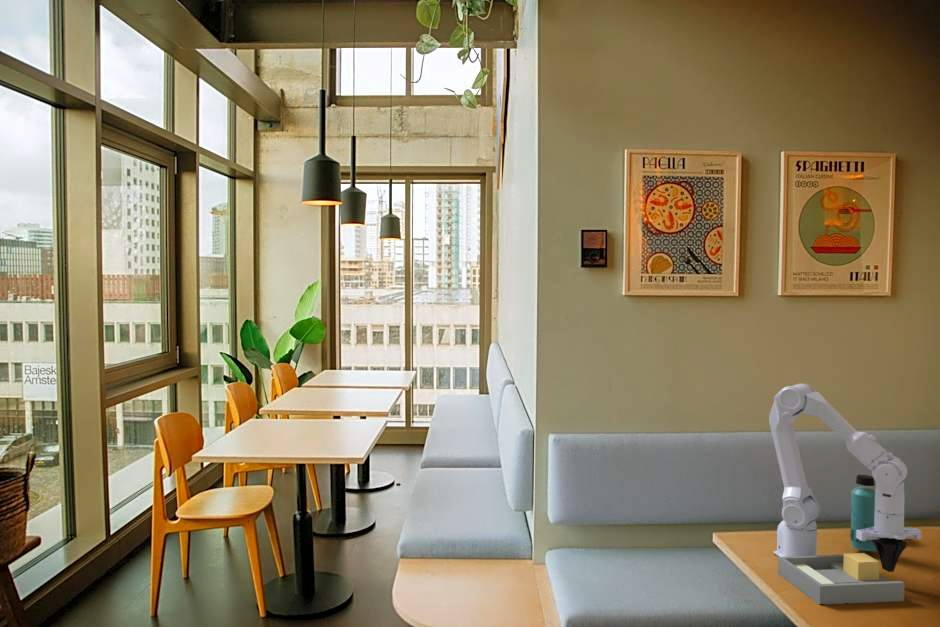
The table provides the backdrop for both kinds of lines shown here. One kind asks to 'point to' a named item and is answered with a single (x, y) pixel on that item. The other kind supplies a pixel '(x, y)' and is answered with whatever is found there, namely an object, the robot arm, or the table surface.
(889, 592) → the box
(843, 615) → the table surface
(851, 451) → the robot arm
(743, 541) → the table surface
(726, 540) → the table surface
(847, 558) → the block
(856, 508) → the beverage bottle
